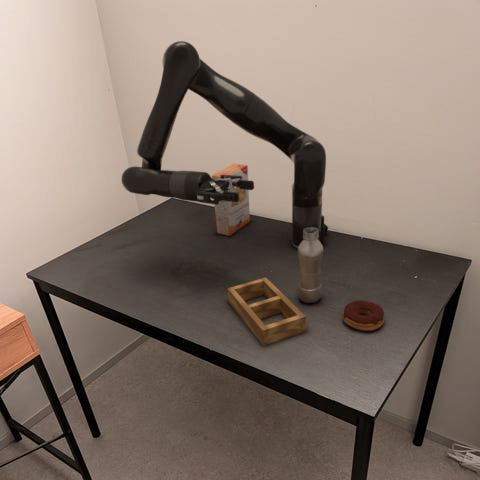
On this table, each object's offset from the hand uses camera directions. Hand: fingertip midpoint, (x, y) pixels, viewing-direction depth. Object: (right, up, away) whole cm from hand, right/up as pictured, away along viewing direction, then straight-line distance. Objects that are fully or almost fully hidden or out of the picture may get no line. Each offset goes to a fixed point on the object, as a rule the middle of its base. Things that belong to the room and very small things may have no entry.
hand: (246, 191), depth 113 cm
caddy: (+5, -31, +4) cm, 32 cm away
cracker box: (-4, +1, +51) cm, 51 cm away
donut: (+29, -33, -1) cm, 43 cm away
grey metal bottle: (+17, -27, +9) cm, 33 cm away
